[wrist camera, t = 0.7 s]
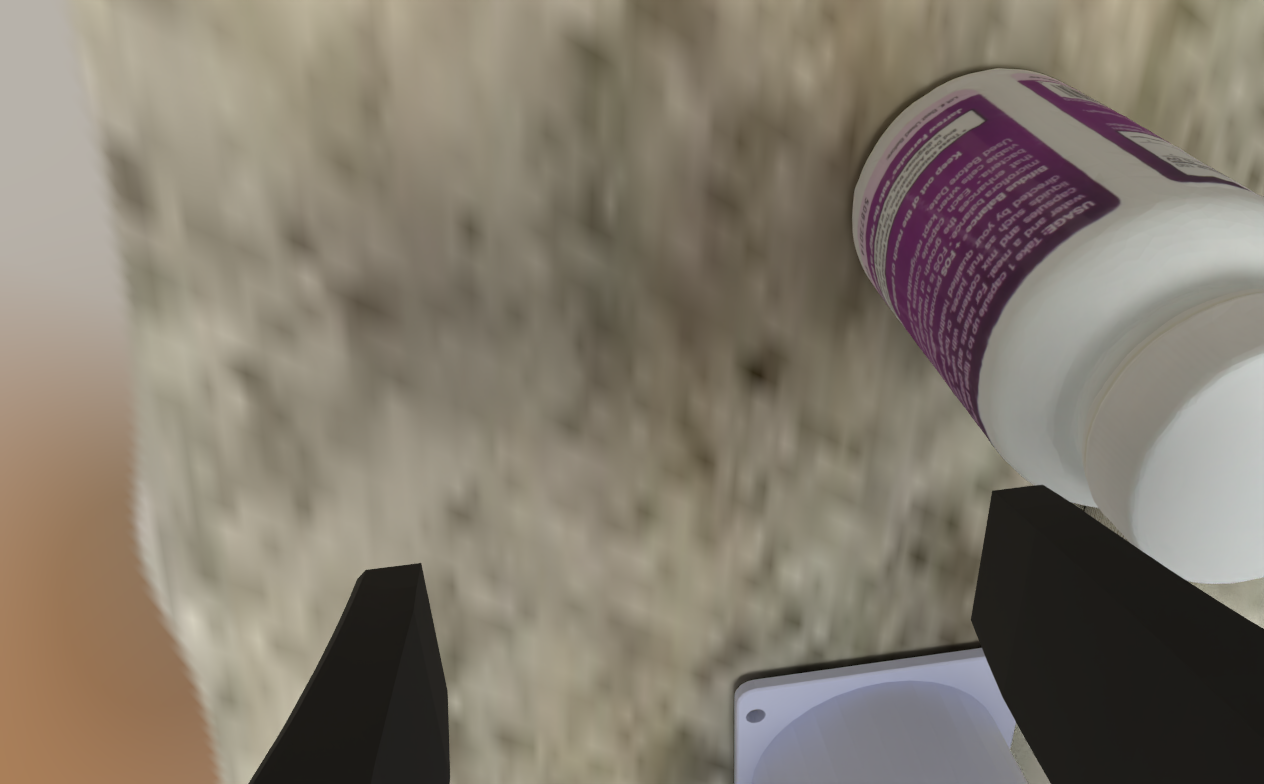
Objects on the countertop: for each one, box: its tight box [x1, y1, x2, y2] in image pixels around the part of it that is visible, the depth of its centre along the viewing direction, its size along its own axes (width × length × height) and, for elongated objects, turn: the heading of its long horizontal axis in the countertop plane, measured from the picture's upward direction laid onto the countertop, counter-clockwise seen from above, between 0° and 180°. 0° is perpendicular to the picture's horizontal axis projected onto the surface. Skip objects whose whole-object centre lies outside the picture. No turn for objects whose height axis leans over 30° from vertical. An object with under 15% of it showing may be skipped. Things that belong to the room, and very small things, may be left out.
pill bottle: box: [852, 68, 1264, 584], centre depth 18 cm, size 5×5×10 cm
